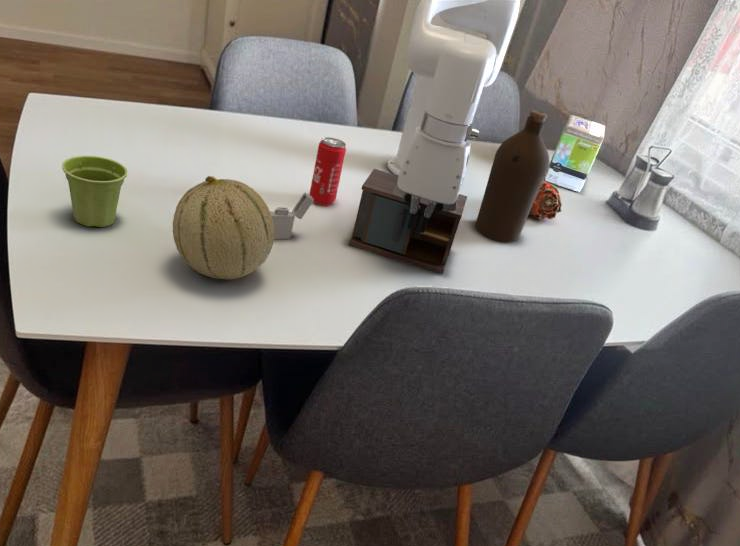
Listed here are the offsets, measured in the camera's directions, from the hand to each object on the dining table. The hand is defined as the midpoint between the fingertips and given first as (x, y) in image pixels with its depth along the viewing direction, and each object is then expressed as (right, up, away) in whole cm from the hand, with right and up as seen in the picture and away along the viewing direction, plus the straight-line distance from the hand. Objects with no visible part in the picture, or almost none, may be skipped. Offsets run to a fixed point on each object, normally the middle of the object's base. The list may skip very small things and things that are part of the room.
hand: (414, 234), depth 120 cm
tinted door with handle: (-6, -2, +4) cm, 7 cm away
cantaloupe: (-31, -8, -12) cm, 34 cm away
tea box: (+44, +26, +67) cm, 84 cm away
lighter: (-22, 0, +3) cm, 23 cm away
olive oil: (+19, +5, +27) cm, 33 cm away
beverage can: (-17, +10, +19) cm, 28 cm away
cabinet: (-2, -1, +10) cm, 11 cm away
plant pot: (-52, +1, -7) cm, 52 cm away
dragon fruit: (+29, +11, +40) cm, 51 cm away
